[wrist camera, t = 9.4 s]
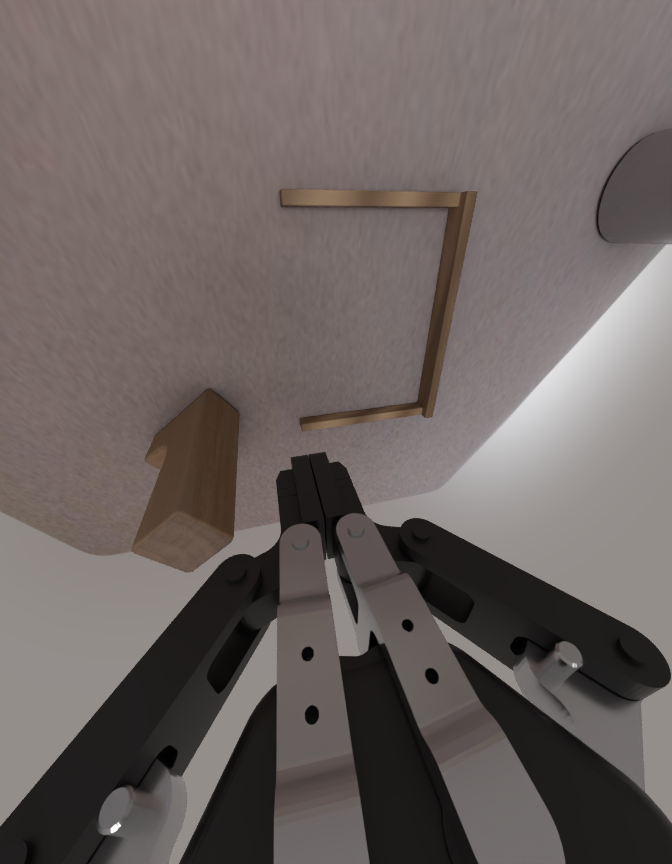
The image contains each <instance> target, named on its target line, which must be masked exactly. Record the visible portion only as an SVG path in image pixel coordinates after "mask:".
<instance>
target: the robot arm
mask: <svg viewBox="0 0 672 864" xmlns="http://www.w3.org/2000/svg"><path fill="white" fill-rule="evenodd" d="M598 223H599V229H600V232H601V234H602V236H603V237H604V238H605V239H606V240H607V241H609V242H612V243H649V244H672V129H668V130H665V131H661V132H657V133H653V134H651V135H649V136H647V137H646V138H644V139H642V140H641V141H640V142H639V143H637V144H636V145H635V146H634V147H633V148H632V149H631V150H630V151H629V152H628V153H627V154H626V155H625V157H624V158H623V159H622V161H621V162H620V163H619V165H618V166H617V167H616V169H615V171H614V173H613V174H612V176H611V178H610V180H609V182H608V184H607V186H606V188H605V191H604V194H603V197H602V200H601V203H600V209H599V220H598ZM291 464H292V469H291V470H284V471H280V473H279V475H278V477H277V479H276V485H277V494H278V504H279V514H280V524H281V535H280V538H279V540H278V541H277V543H276V544H275V545H274V546H273V547H272V548H271V549H270V550H268V551H267V552H265V553H263V554H261V555H259V556H258V557H255V558H254V557H252V556H250V555H246V554H238V555H234V556H232V557H229V558H228V559H226V560H225V561H224V562H222V563H221V564H220V565H219V566H218V568H217V569H216V570H215V571H214V572H213V574H212V575H211V576H210V577H209V578H208V580H207V581H206V582H205V583H204V584H203V586H202V587H201V588H200V589H199V590H198V591H197V593H196V594H195V595H194V596H193V597H192V599H191V600H190V601H189V602H188V603H187V605H186V606H185V607H184V608H183V610H182V611H181V612H180V613H179V614H178V616H177V617H176V618H175V619H174V620H173V621H172V622H171V624H170V625H169V626H168V627H167V629H166V630H165V631H164V632H163V633H162V634H161V636H160V637H159V638H158V639H157V640H156V642H155V643H154V644H153V645H152V646H151V648H150V649H149V650H148V651H147V652H146V654H145V655H144V656H143V657H142V658H141V660H140V661H139V662H138V663H137V664H136V665H135V667H134V668H133V669H132V670H131V672H130V673H129V674H128V675H127V676H126V677H125V679H124V680H123V681H122V682H121V683H120V685H119V686H118V687H117V688H116V689H115V690H114V692H113V693H112V694H111V695H110V696H109V698H108V699H107V700H106V701H105V702H104V704H103V705H102V706H101V707H100V708H99V710H98V711H97V712H96V713H95V714H94V716H93V717H92V718H91V719H90V720H89V722H88V723H87V724H86V725H85V726H84V728H83V729H82V730H81V731H80V732H79V733H78V735H77V736H76V737H75V738H74V740H73V741H72V742H71V743H70V744H69V745H68V747H67V748H66V749H65V750H64V751H63V753H62V754H61V755H60V756H59V757H58V759H57V760H56V761H55V762H54V763H53V764H52V766H51V767H50V768H49V769H48V770H47V772H46V773H45V774H44V775H43V776H42V778H41V779H40V780H39V781H38V782H37V784H36V785H35V786H34V787H33V788H32V790H31V791H30V792H29V793H28V794H27V795H26V797H25V798H24V799H23V800H22V801H21V803H20V804H19V805H18V806H17V808H16V809H15V810H14V811H13V812H12V813H11V815H10V816H9V817H8V818H7V819H6V821H5V822H4V823H3V824H2V825H1V826H0V864H168V863H169V858H170V855H171V852H172V849H173V846H174V844H175V842H176V839H177V837H178V834H179V832H180V830H181V827H182V824H183V821H184V818H185V813H186V807H187V792H186V786H185V783H184V781H183V779H182V775H183V773H184V771H185V770H186V768H187V766H188V765H189V763H190V761H191V759H192V757H193V756H194V754H195V752H196V751H197V749H198V747H199V746H200V744H201V742H202V740H203V738H204V737H205V735H206V734H207V732H208V730H209V728H210V727H211V725H212V723H213V721H214V720H215V718H216V716H217V715H218V713H219V711H220V710H221V708H222V706H223V704H224V703H225V701H226V699H227V698H228V696H229V694H230V692H231V691H232V689H233V687H234V685H235V684H236V682H237V680H238V679H239V677H240V675H241V674H242V672H243V670H244V668H245V667H246V665H247V663H248V661H249V660H250V658H251V656H252V654H253V653H254V651H255V649H256V648H257V646H258V644H259V642H260V641H261V639H262V637H263V636H264V634H265V632H266V630H267V629H268V627H269V625H270V623H271V621H273V620H274V619H276V618H277V684H276V685H275V686H273V687H272V688H271V689H270V690H269V691H268V692H267V694H266V695H265V696H264V697H263V698H262V700H261V701H260V702H259V704H258V705H257V706H256V708H255V709H254V711H253V713H252V714H251V716H250V718H249V720H248V722H247V724H246V726H245V728H244V730H243V732H242V734H241V736H240V738H239V740H238V742H237V744H236V746H235V748H234V751H233V753H232V755H231V757H230V759H229V761H228V763H227V765H226V767H225V769H224V771H223V774H222V776H221V778H220V780H219V782H218V784H217V786H216V788H215V790H214V792H213V794H212V796H211V799H210V801H209V803H208V805H207V807H206V809H205V811H204V813H203V815H202V817H201V819H200V821H199V823H198V826H197V828H196V830H195V832H194V834H193V836H192V838H191V840H190V842H189V844H188V846H187V848H186V851H185V853H184V855H183V857H182V859H181V861H180V863H179V864H672V823H671V822H670V821H669V820H668V818H667V817H666V815H665V814H664V813H663V812H662V810H661V809H660V808H659V807H658V806H657V805H656V804H655V803H654V801H653V800H652V799H651V798H650V797H649V796H648V795H647V794H646V793H645V783H644V762H643V741H642V722H641V721H642V720H641V701H642V700H643V699H644V698H646V697H647V696H649V695H651V694H653V693H654V692H656V691H658V690H660V689H661V688H663V687H665V686H666V685H667V684H668V683H669V681H670V678H671V673H670V668H669V665H668V663H667V661H666V660H665V658H664V656H663V655H662V653H661V652H660V651H659V649H658V648H657V647H656V646H655V645H654V644H653V643H652V642H651V641H650V640H649V639H648V638H647V637H645V636H644V635H643V634H641V633H640V632H638V631H637V630H635V629H634V628H632V627H630V626H628V625H626V624H624V623H622V622H621V621H619V620H617V619H615V618H613V617H611V616H609V615H607V614H605V613H603V612H601V611H599V610H597V609H596V608H594V607H592V606H590V605H588V604H586V603H584V602H582V601H580V600H578V599H576V598H575V597H573V596H571V595H569V594H567V593H565V592H563V591H561V590H559V589H557V588H556V587H554V586H552V585H550V584H548V583H546V582H544V581H542V580H540V579H538V578H536V577H534V576H533V575H531V574H529V573H527V572H525V571H523V570H521V569H519V568H517V567H515V566H513V565H512V564H509V563H508V562H506V561H504V560H502V559H500V558H498V557H496V556H494V555H492V554H491V553H488V552H487V551H485V550H483V549H481V548H479V547H477V546H475V545H473V544H471V543H469V542H467V541H466V540H464V539H462V538H460V537H458V536H456V535H454V534H452V533H450V532H448V531H447V530H445V529H443V528H441V527H439V526H437V525H435V524H433V523H431V522H429V521H427V520H424V519H419V518H413V519H409V520H407V521H405V522H404V523H403V524H402V526H401V527H391V526H383V525H379V524H376V523H375V522H373V521H372V520H371V519H370V518H369V517H367V516H366V514H365V512H364V510H363V508H362V505H361V503H360V500H359V498H358V495H357V493H356V490H355V488H354V486H353V483H352V481H351V479H350V476H349V473H348V471H347V469H346V468H345V467H344V466H343V465H342V464H341V463H340V462H333V463H329V461H328V458H327V455H326V453H325V452H322V453H315V454H309V455H303V456H296V457H291ZM326 553H327V557H328V559H330V558H335V562H336V566H337V577H338V581H339V584H340V587H341V590H342V593H343V596H344V599H345V602H346V604H347V608H348V611H349V614H350V617H351V620H352V622H353V626H354V629H355V632H356V638H357V643H358V648H359V651H360V656H339V654H338V647H337V641H336V633H335V626H334V619H333V613H332V605H331V600H330V595H329V591H328V584H327V577H326V571H325V564H324V563H325V562H324V560H326ZM432 615H434V616H435V617H437V618H438V619H439V620H441V621H442V622H444V623H445V624H447V625H448V626H450V627H451V628H452V629H454V630H455V631H457V632H458V633H460V634H461V635H463V636H464V637H465V638H467V639H468V640H470V641H471V642H473V643H474V644H476V645H477V646H478V647H480V648H481V649H483V650H484V651H486V652H487V653H489V654H490V655H491V656H493V657H494V658H496V659H497V660H499V661H500V662H502V663H503V664H504V665H506V666H507V667H509V668H510V669H512V670H513V671H514V676H515V678H516V681H517V683H518V686H519V687H520V689H521V692H522V694H523V695H524V696H525V697H526V698H524V697H523V696H522V695H520V694H519V693H518V692H517V691H515V690H514V689H513V688H511V687H510V686H509V685H507V684H506V683H505V682H503V681H502V680H501V679H500V678H498V677H497V676H496V675H494V674H493V673H492V672H490V671H489V670H488V669H486V668H485V667H484V666H483V665H481V664H480V663H479V662H477V661H476V660H475V659H473V658H472V657H471V656H469V655H468V654H467V653H465V652H464V651H462V650H461V649H459V648H458V647H456V646H454V645H452V644H450V643H448V642H447V641H446V639H445V637H444V636H443V634H442V632H441V630H440V628H439V627H438V625H437V623H436V621H435V619H434V618H433V616H432ZM527 699H528V700H529V701H528V700H527ZM531 702H532V703H533V704H532V703H531Z"/></svg>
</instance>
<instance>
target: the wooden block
mask: <svg viewBox="0 0 672 864" xmlns="http://www.w3.org/2000/svg"><path fill="white" fill-rule="evenodd" d="M238 433H239V412H238V411H236V410H235V409H234V408H233V407H232V406H230V405H229V404H228V403H227V402H225V401H224V400H223V399H222V398H220V397H219V396H218V395H217V394H216V393H214V392H213V391H212V390H210V389H209V390H206V391H205V392H204V393H203V394H202V395H200V396H199V397H198V398H197V399H196V400H195V401H194V402H193V403H192V404H190V405H189V406H188V407H187V408H186V409H185V410H184V411H183V412H182V413H180V414H179V415H178V416H177V417H176V418H175V419H174V420H173V421H172V422H170V423H169V424H168V425H167V426H166V427H165V428H164V429H163V430H162V431H160V432H159V433H158V434H157V435H156V436H155V437H154V439H153V442H152V444H151V446H150V448H149V450H148V452H147V454H146V457H145V461H146V462H147V463H149V464H151V465H153V466H154V467H156V468H158V469H160V470H161V471H160V473H159V476H158V479H157V481H156V484H155V487H154V490H153V492H152V495H151V498H150V500H149V503H148V506H147V508H146V511H145V514H144V516H143V519H142V522H141V524H140V527H139V530H138V533H137V535H136V538H135V541H134V543H133V546H132V552H134V553H135V554H137V555H140V556H143V557H146V558H148V559H151V560H154V561H157V562H159V563H162V564H165V565H167V566H170V567H173V568H176V569H179V570H181V571H184V572H192V571H194V570H195V569H196V568H198V567H199V566H200V565H202V564H203V563H204V562H206V561H207V560H208V559H210V558H211V557H212V556H214V555H215V554H216V553H218V552H219V551H220V550H221V549H223V548H224V547H226V546H227V545H228V544H229V543H231V541H232V540H233V537H234V518H235V497H236V475H237V454H238Z"/></svg>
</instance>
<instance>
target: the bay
mask: <svg viewBox="0 0 672 864" xmlns="http://www.w3.org/2000/svg"><path fill="white" fill-rule="evenodd" d="M476 197H477V191H467V192H462V193H452V192H403V191H354V190H305V189H281V190H280V201H281V206H282V207H396V208H449V213H448V219H447V225H446V231H445V237H444V243H443V249H442V255H441V262H440V268H439V274H438V280H437V286H436V292H435V298H434V304H433V311H432V317H431V323H430V329H429V335H428V341H427V347H426V353H425V360H424V366H423V372H422V378H421V384H420V390H419V396H418V402H417V403H410V404H403V405H395V406H388V407H380V408H373V409H365V410H358V411H350V412H343V413H335V414H328V415H320V416H313V417H305V418H300V424H301V428H302V431H308V430H315V429H322V428H329V427H336V426H343V425H350V424H357V423H364V422H371V421H378V420H385V419H392V418H399V417H406V416H413V415H420V414H422V415H423V416H424V417H425V418H429V417H432V416H433V411H434V406H435V401H436V396H437V391H438V386H439V381H440V376H441V371H442V366H443V361H444V356H445V351H446V346H447V341H448V336H449V331H450V326H451V321H452V316H453V311H454V306H455V301H456V296H457V291H458V286H459V281H460V276H461V272H462V267H463V262H464V257H465V252H466V247H467V242H468V237H469V232H470V227H471V222H472V217H473V212H474V207H475V202H476Z"/></svg>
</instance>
